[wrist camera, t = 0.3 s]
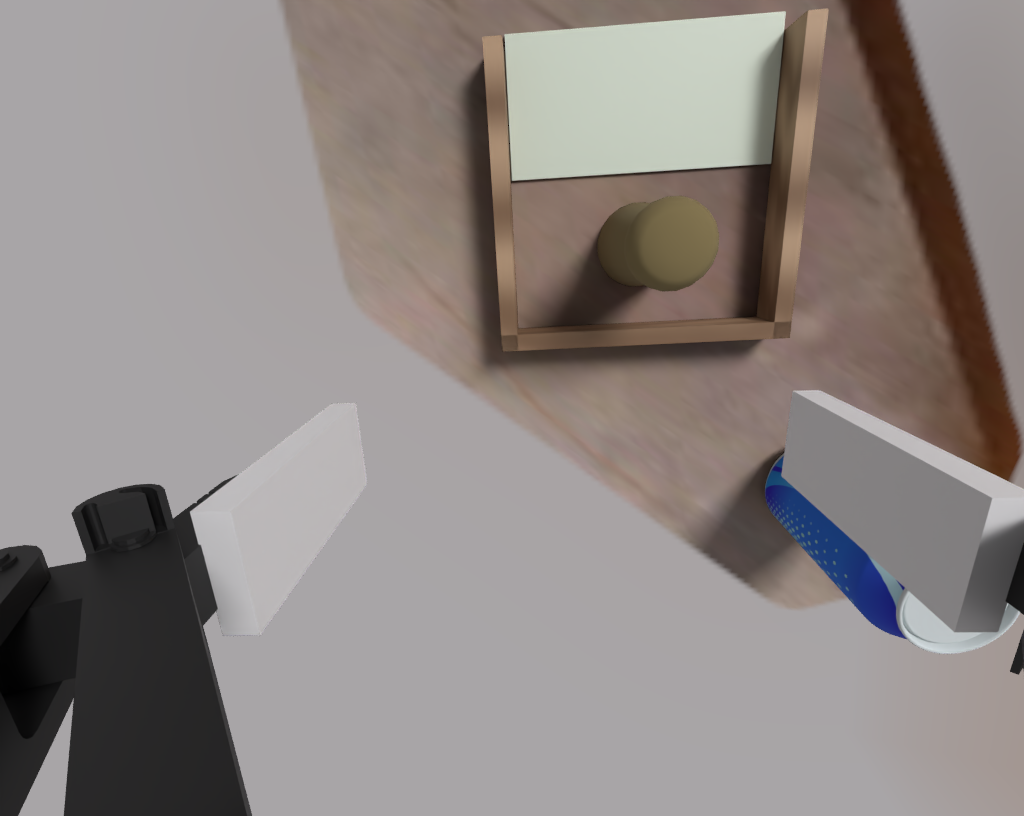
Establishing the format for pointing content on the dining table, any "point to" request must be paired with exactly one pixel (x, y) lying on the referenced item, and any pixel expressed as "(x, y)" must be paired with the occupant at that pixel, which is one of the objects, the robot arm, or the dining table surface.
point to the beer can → (867, 575)
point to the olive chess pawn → (659, 243)
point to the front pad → (644, 96)
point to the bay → (780, 228)
